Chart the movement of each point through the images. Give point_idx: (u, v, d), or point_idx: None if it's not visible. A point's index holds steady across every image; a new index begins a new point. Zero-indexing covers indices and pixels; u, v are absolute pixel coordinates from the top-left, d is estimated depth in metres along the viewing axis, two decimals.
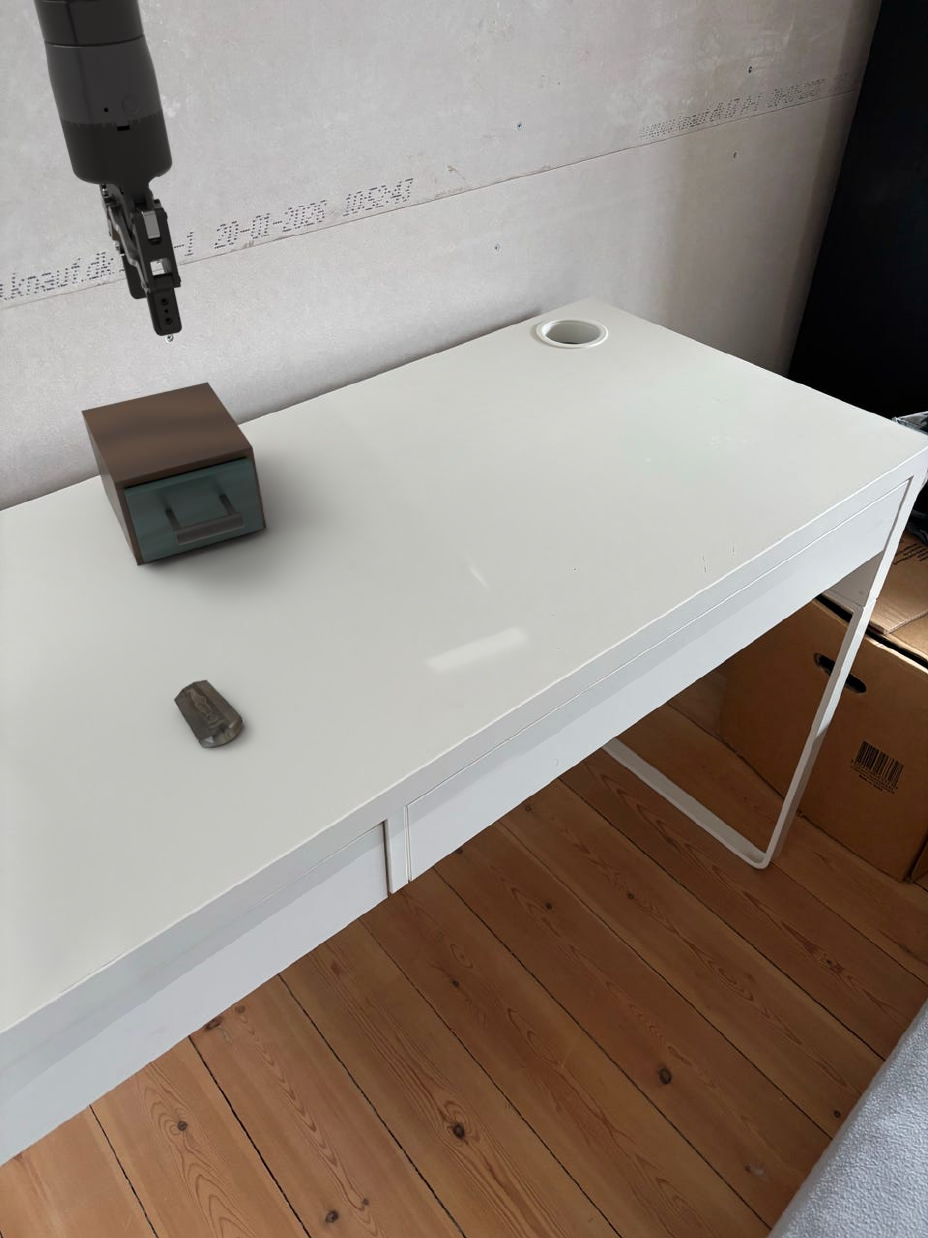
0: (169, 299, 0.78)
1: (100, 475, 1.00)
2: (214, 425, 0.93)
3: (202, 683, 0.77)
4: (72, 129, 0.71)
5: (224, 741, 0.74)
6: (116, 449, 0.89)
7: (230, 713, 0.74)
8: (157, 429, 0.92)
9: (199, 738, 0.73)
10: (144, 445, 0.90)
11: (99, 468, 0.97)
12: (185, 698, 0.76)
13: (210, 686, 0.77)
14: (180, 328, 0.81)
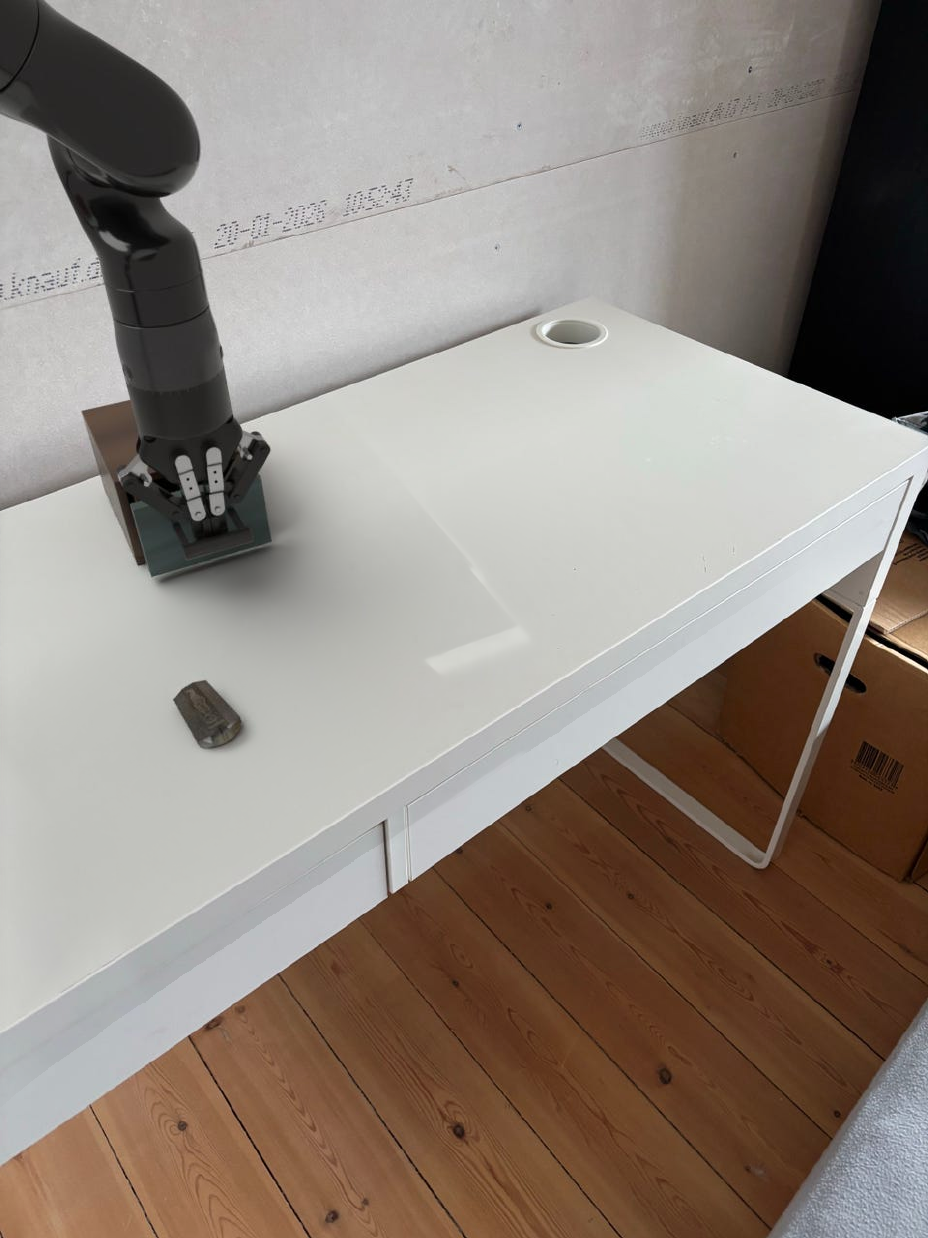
0: (193, 524, 0.84)
1: (100, 475, 1.00)
2: None
3: (201, 683, 0.77)
4: None
5: (223, 742, 0.74)
6: (116, 449, 0.89)
7: (229, 714, 0.74)
8: None
9: (198, 738, 0.73)
10: None
11: (99, 468, 0.97)
12: (184, 698, 0.76)
13: (209, 686, 0.77)
14: None
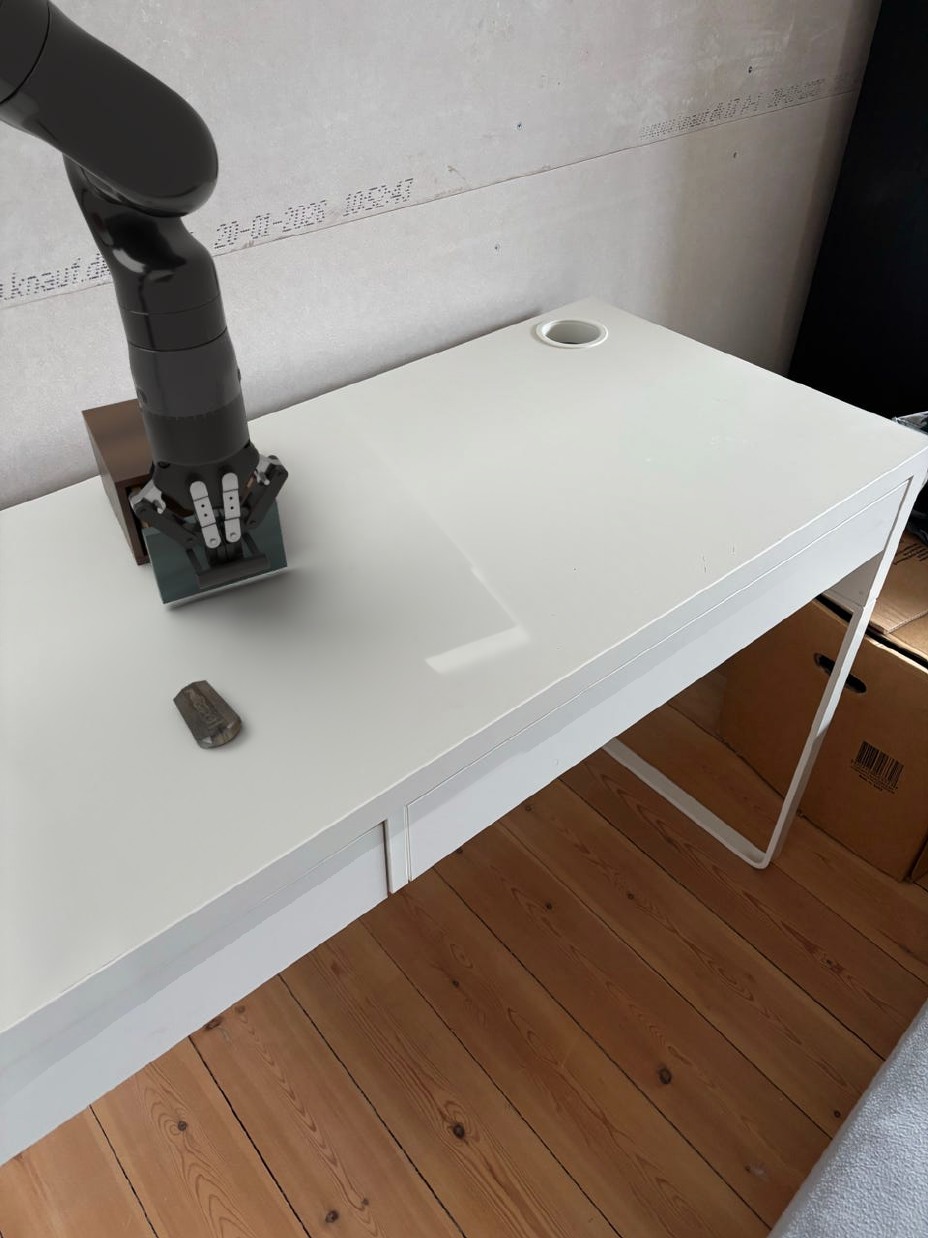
0: None
1: (100, 475, 1.00)
2: None
3: (201, 683, 0.77)
4: None
5: (222, 742, 0.74)
6: (116, 449, 0.89)
7: (229, 714, 0.74)
8: None
9: (197, 738, 0.73)
10: (144, 445, 0.90)
11: (99, 468, 0.97)
12: (184, 698, 0.76)
13: (209, 686, 0.77)
14: None
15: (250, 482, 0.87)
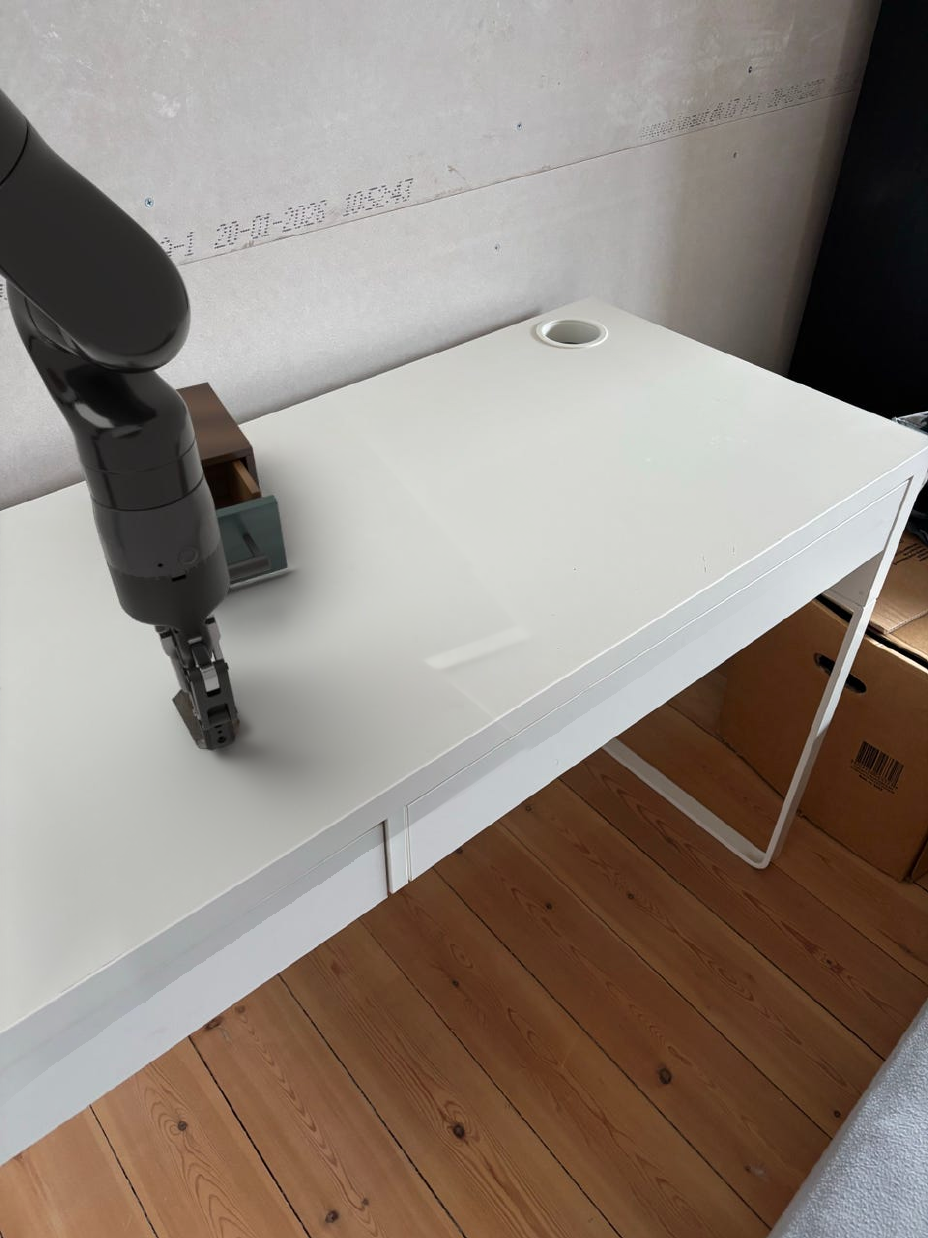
0: None
1: None
2: (214, 425, 0.93)
3: None
4: (121, 578, 0.63)
5: None
6: None
7: None
8: None
9: (195, 739, 0.73)
10: None
11: None
12: (183, 698, 0.76)
13: None
14: (233, 739, 0.73)
15: (251, 483, 0.87)
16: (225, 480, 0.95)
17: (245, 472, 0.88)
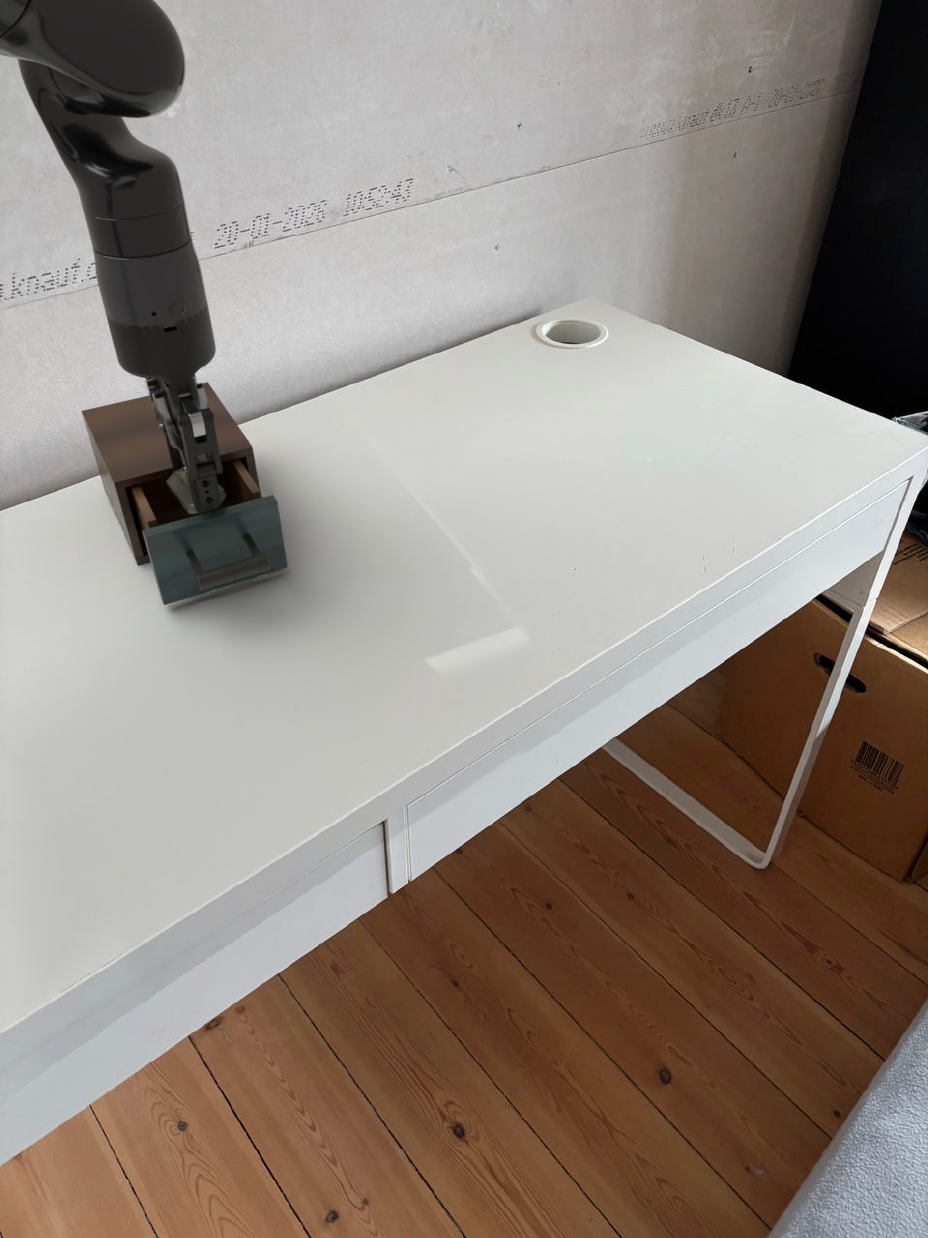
0: (210, 481, 0.80)
1: (100, 475, 1.00)
2: (214, 425, 0.93)
3: None
4: (119, 329, 0.72)
5: None
6: (116, 449, 0.89)
7: None
8: (157, 429, 0.92)
9: (186, 504, 0.83)
10: (144, 445, 0.90)
11: (99, 468, 0.97)
12: (176, 478, 0.85)
13: None
14: (220, 504, 0.82)
15: (251, 483, 0.87)
16: (225, 480, 0.95)
17: (245, 472, 0.88)
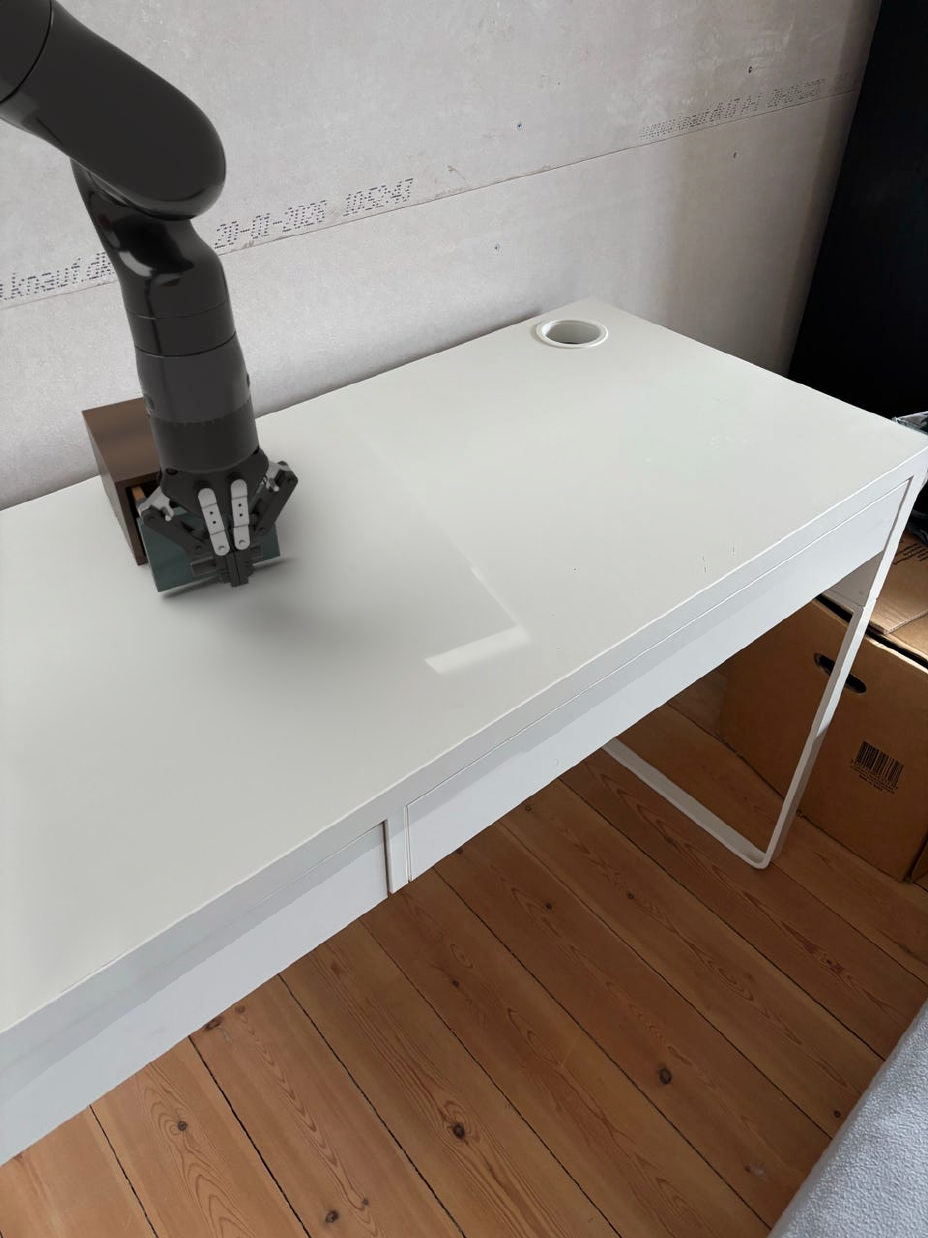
0: (216, 558, 0.79)
1: (100, 475, 1.00)
2: None
3: None
4: None
5: None
6: (116, 449, 0.89)
7: None
8: None
9: None
10: (144, 445, 0.90)
11: (99, 468, 0.97)
12: None
13: None
14: (231, 586, 0.81)
15: None
16: None
17: None
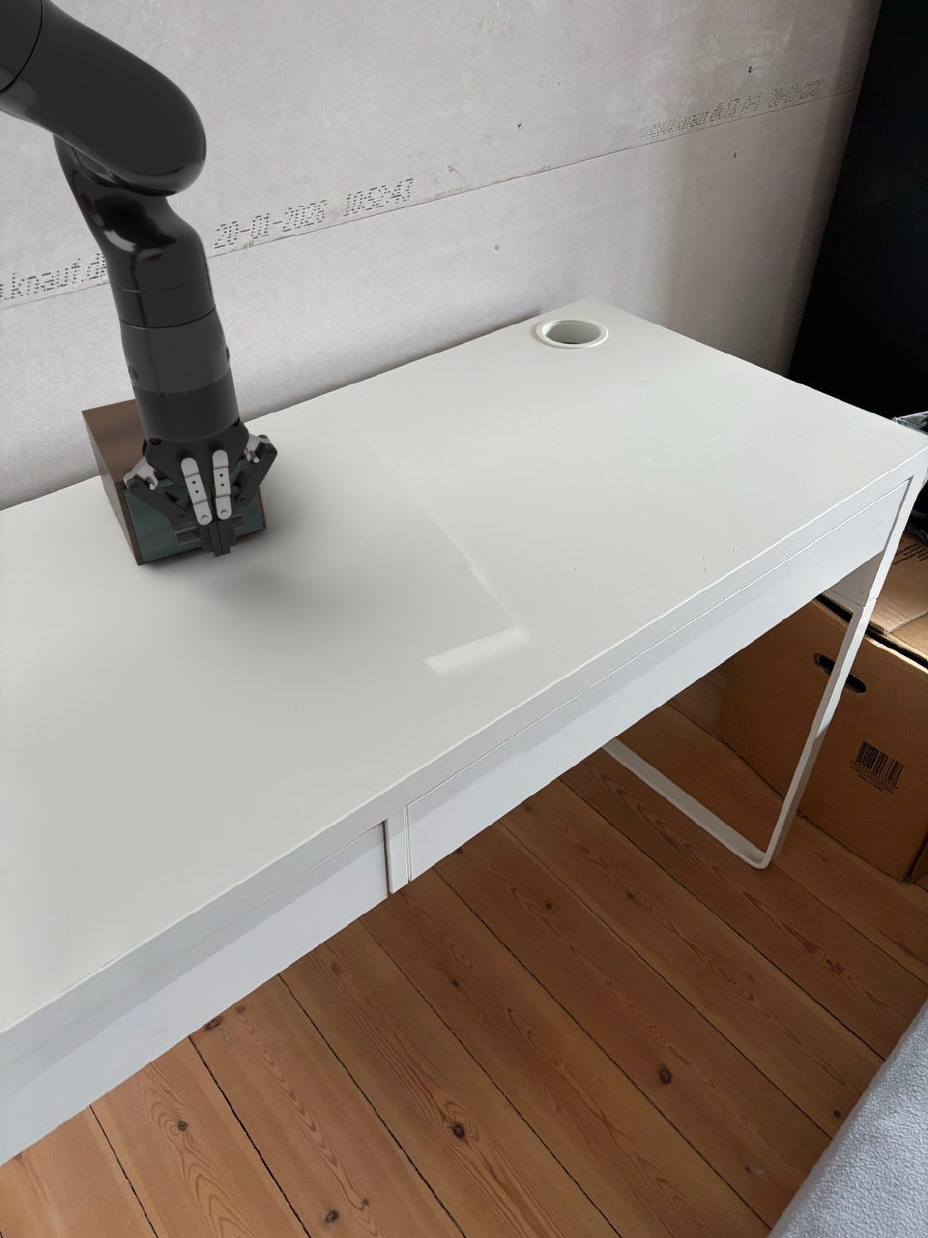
0: None
1: (100, 475, 1.00)
2: None
3: None
4: None
5: None
6: (116, 449, 0.89)
7: None
8: None
9: None
10: None
11: (99, 468, 0.97)
12: None
13: None
14: (214, 555, 0.85)
15: None
16: None
17: None
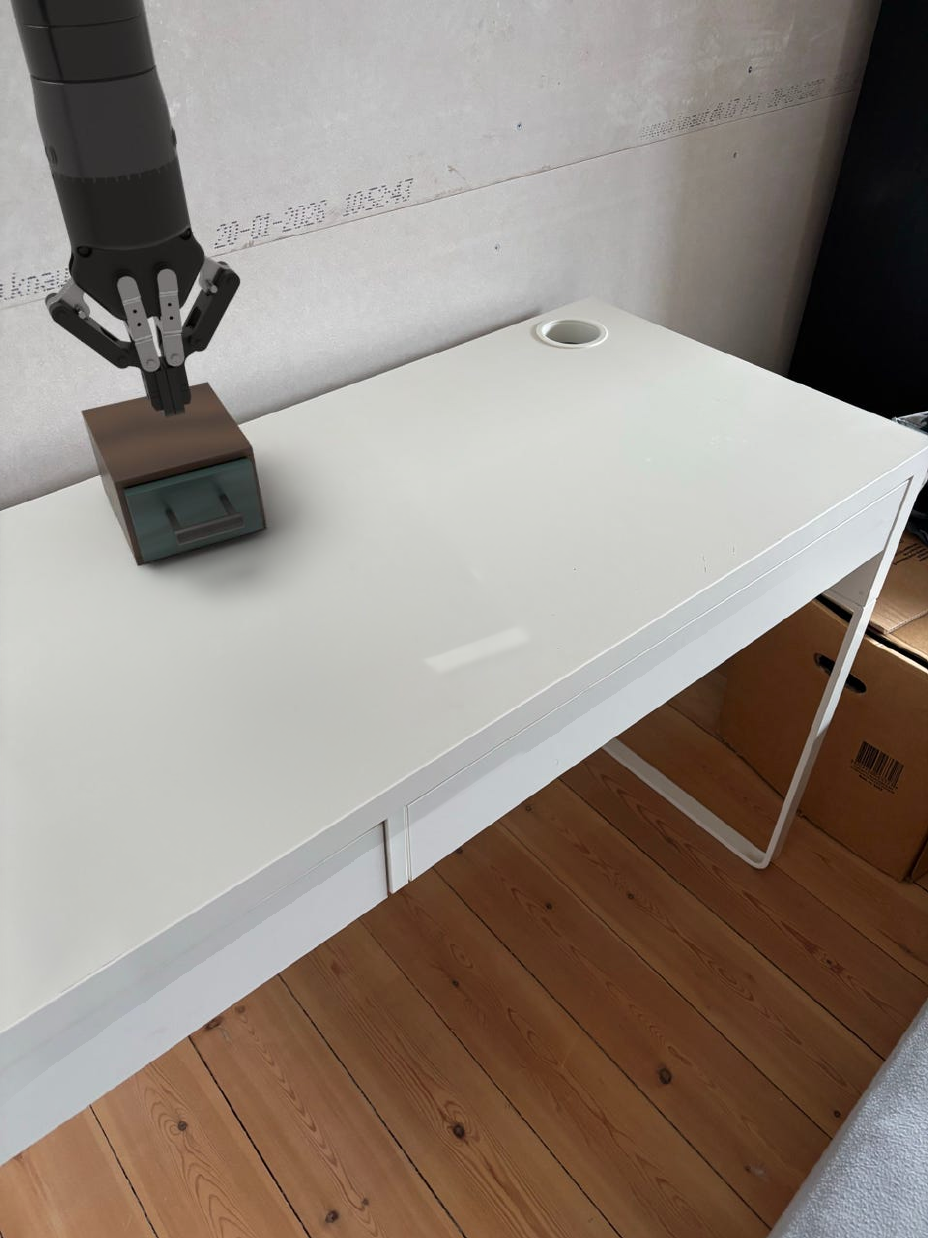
0: (145, 377, 0.68)
1: (100, 475, 1.00)
2: (214, 425, 0.93)
3: None
4: None
5: None
6: (116, 449, 0.89)
7: None
8: (157, 429, 0.92)
9: None
10: (144, 445, 0.90)
11: (99, 468, 0.97)
12: None
13: None
14: (164, 414, 0.69)
15: None
16: None
17: None
